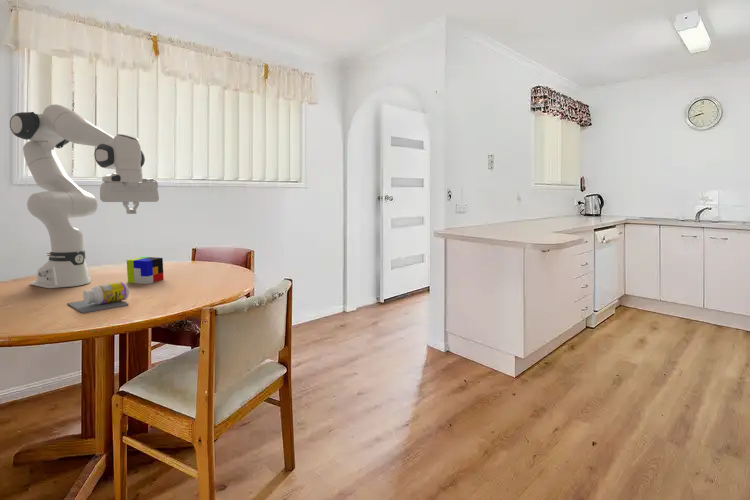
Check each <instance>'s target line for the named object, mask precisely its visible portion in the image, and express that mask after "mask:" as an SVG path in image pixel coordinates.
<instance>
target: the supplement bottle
mask: <svg viewBox="0 0 750 500" xmlns="http://www.w3.org/2000/svg"><path fill="white" fill-rule="evenodd" d="M82 293H83V294H82V298H83V301H85V303H86V304H89V303H92V302H94V303H95V304H97V305H99V304H105V303H110V302H116V301H125V300H128V298H129V295H130V294H129V293H130V291H129V287H128V284H127V283H125V282H123V281H120V282H119V281H118V282H112V283H107V284H100V285H95V286H93V287H92V288H91V289H86V290H84V291H83V292H82Z"/></svg>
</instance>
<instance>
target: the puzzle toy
mask: <svg viewBox="0 0 750 500" xmlns="http://www.w3.org/2000/svg"><path fill="white" fill-rule="evenodd" d="M126 270H127V271H126V272H127V283H129V284H143V285H144V284H145V285H149V284H153V283H156V281H157V282H159V281H163V280H164V278H165V277H164V260H163V257H154V256H153V257H151V256H141V257H136V258H130V259H126Z"/></svg>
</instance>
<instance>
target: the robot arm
mask: <svg viewBox="0 0 750 500" xmlns="http://www.w3.org/2000/svg"><path fill="white" fill-rule="evenodd" d="M13 114H14V115H12V117H10V120H9V128H10V131H11V132H12V134H13V135H14V136H15V137H18V138H19V139H23V140H29V141H27V142H25V143H24V145H23V147H22V153H23V156H24V160H25V162H26V165H27V167H28V170H29V171H30V174H31V176H32V178H33V180H34V181H35V183H36V185H37V186H38V187H40V188H41V189H43V190H45V191H40V192H36V193H35V192H34V193H31V195H30V196H28V198H27V202H26V207H27V210H28V212H29V213H30V215H32V216H33V217H35V218H36V219H38V220H39V221H40V222H41V223H42V224H43V226H44V227H45V228H46V230H47V232H48V235H49V239H50V240H49V241H50V247H51V251H50V252H47V253H46V254H47V255H46V256H47V257H48V261H47V262H46V263H44V264H43V265H42V266H41V267H40V268H39V269H37V272H36V273H37V274H36V278H37V279H36V280H32V281H30V285H31V286H36V287H41V288H46V289H57V288H69V287H79V286H82V285H87V284H90V283H91V280H92V277H90V273H89V269H88V264H87V262H86V260H85V259H86V257H87V256H86V250H85V249H84V239H83V238H84V236H83V232H82V231H81V230H80V229H78V228H77V227H74V226H72V224H71V223H70V221H69V219H70V218H71V219H72V218H83V217H88V216H91V215H94V214H95V213H96V212H97V211H98V206H99V205H98V199H97V198H96V197H95V196H94V195H93V194H92V193H90V192H87V191H86V190H84V189H83V188H81V187H80V186H79V185H77V184H76V183H75V182H74V181H73V180H72V179H71V178H70V177H69V176H68V174H67V173H66V171H65V169H64V167H63V166H62V163H61V161H60V159H59V157H58V156H57V154H56V149H62V148H63V147H64V146H65V145H68V144H69V143H73V144H77V145H81V146H83V145H84V146H91V147H95V149H94V160H95V162H96V163H97V165H98V166H99V167H100V168H103V169H108V170H110V169H111V170H115V172H114V173H110V174H106V175H103V176H102V177H101V181H102V183H101V184H100V187H99V199H100V201H101V202H102V203H122V206H123V207H124V208H125V209H126V214H127V215H136V214H137V209H138V208H139V206H140V203H145V202H146V203H148V202H149V203H155V202H156V203H157V202H158V201H160V195H159V191H158V190H159V189H158V187H159V183H158V181H157V180H156V179H154V178H145V177H143V166H144V164H145V162H146V158H145V154H144V152H143V151H142V148H141V144H140V141H139V138H137V137H136V136H134V135H129V134H121V133H118V134H115V135H111V134H110V133H108V132H107V131H105V130H103V129H101V128H100V127H98V126H96V125H94V124H93V123H91V122H90V121H88V120H87V119H85V118H84V117H82V116H80V115H79V114H78V113H76V112H75V111H73V110H71V109H69V108H67V107H65V106H62V105H60V104H50V105H48V106H46V107H45V108H44V109H43V111H42V113H40V114H39V113H35V111H30V112H29V111H27V112H26V111H25V112H23V111H22V112H16V113H13ZM130 203H132V204H133V205H134V206H133V207H132V208H130V207H129V205H130Z"/></svg>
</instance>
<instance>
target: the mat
mask: <svg viewBox="0 0 750 500" xmlns="http://www.w3.org/2000/svg"><path fill="white" fill-rule="evenodd" d="M67 305H68V306H70V307H71V308H72V309H74V310H76V311H78V312H79V313H81V314H86V313H93V312H96V311H98V312H99V311H104V310H108V309H114V308H121V307H122V308H123V307H127V306H129V303H127V302H125V301H124V300H122V301H116V302H110V303H105V304H99V305H97V304H95V303H94V302H92V303H89V304H86V303H85V301H84V300H77V301H73V302H72V301H71V302H67Z"/></svg>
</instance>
